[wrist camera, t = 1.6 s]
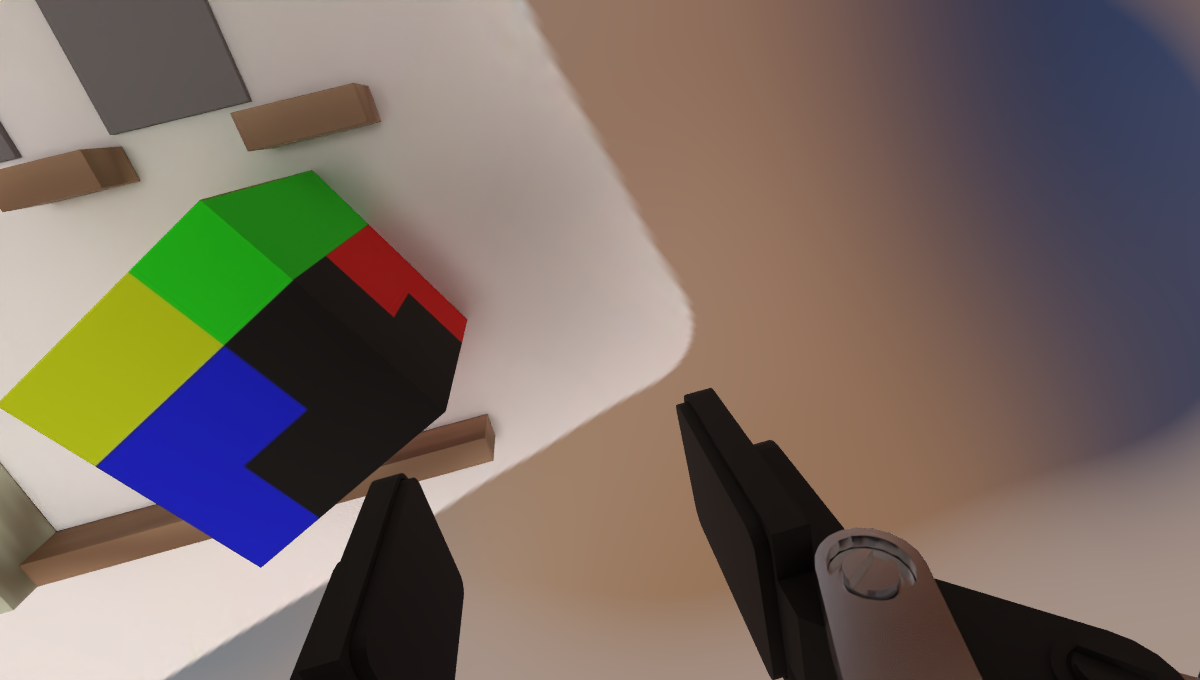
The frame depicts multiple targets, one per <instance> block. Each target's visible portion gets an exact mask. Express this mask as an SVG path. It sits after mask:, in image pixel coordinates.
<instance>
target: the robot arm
mask: <svg viewBox="0 0 1200 680" xmlns="http://www.w3.org/2000/svg"><path fill="white" fill-rule="evenodd" d="M684 402H685V403H682V404H678V405H676V409H677V415H678V420H679V425H680V430H681V435H682V440H683V445H684V450H685V455H686V460H687V465H688V470H689V475H690V480H691V485H692V491H693V495H694V501H695V506H696V510H697V514H698V517H699V520H700V523H701V526H702V528H703V530H704V533H705V535H706V537H707V539H708V541H709V544H710V546H711V548H712V550H713V553H714V555H715V557H716V559H717V561H718V563H719V566H720V568H721V570H722V572H723V575H724V576H725V579H726V581H727V583H728V586H729V588H730V590H731V592H732V594H733V597H734V599H735V601H736V603H737V605H738V608H739V610H740V612H741V614H742V616H743V618H744V621H745V623H746V625H747V627H748V630H749V632H750V634H751V636H752V638H753V641H754V643H755V645H756V647H757V650H758V652H759V654H760V656H761V658H762V661H763V663H764V665H765V667H766V669H767V671H768V674H769V676H770V677H771V679H772V680H775V679H779V678H782V677H783V679H784V680H1200V672H1199V675H1198V678H1197V677H1193V676H1189V675H1185V674H1181V673H1179V672H1178V671H1176V670H1175V669H1174V668H1173V667H1171V665H1169V664H1168V663H1167V662H1166V661H1164V660H1163V659H1162V658H1161V657H1160V656H1159V655H1157V654H1155V653H1153V652H1152V651H1150V650H1149V649H1147V648H1145V647H1144V646H1142V645H1140V644H1138V643H1137V642H1135V641H1133V640H1131V639H1128V638H1125V637H1123V636H1120V635H1118V634H1115V633H1113V632H1110V631H1107V630H1104V629H1101V628H1097V627H1094V626H1091V625H1087V624H1084V623H1081V622H1077V621H1074V620H1070V619H1067V618H1064V617H1061V616H1057V615H1054V614H1051V613H1047V612H1044V611H1041V610H1037V609H1034V608H1031V607H1027V606H1024V605H1021V604H1017V603H1014V602H1011V601H1008V600H1004V599H1001V598H998V597H994V596H991V595H988V594H984V593H981V592H978V591H974V590H971V589H968V588H964V587H961V586H958V585H954V584H951V583H948V582H944V581H941V580H938V579H934V577H933V575H932V573H931V571H930V569H929V567H928V565H927V563H926V561H925V560H924V559H923V557H922V556H921V554H920V553H919V551H918V550H916V549H915V548H914V547H913V546H912V545H910V544H909V543H908V542H907V541H905V540H903V539H901V538H899V537H897V536H895V535H893V534H891V533H889V532H885V531H881V530H877V529H873V528H851V529H844V528H843V527H842V525H841V524H840V523H839V522H838V521H837V519H836V518H835V517H834V515H833V514H832V513H831V512H830V510H829V509H828V508H827V507H826V505H825V504H824V503H823V501H822V500H821V499H820V498H819V496H818V495H817V494H816V493H815V492H814V490H813V489H812V488H811V487H810V485H809V484H808V483H807V481H806V480H805V479H804V478H803V476H802V475H801V474H800V473H799V471H798V470H797V469H796V467H795V466H794V465H793V464H792V462H791V461H790V460H789V459H788V457H787V456H786V455H785V454H784V452H783V451H782V450H781V449H780V448H779V446H778V445H777V444H776V443H775V442H774V441H772V440H768V441H765V442H761V443H757V444H754V445H753V444H752V442H751V441H750V440H749V438H748V437H747V436H746V434H745V433H744V432H743V430H742V429H741V427H740V426H739V424H738V423H737V422H736V420H735V419H734V418H733V416H732V415H731V413H730V412H729V411H728V409H727V408H726V407H725V405H724V404H723V402H722V401H721V400H720V398H719V397H718V396H717V394H716V393H715V391H714V390H713V389H712V388H708V389H705V390H701V391H697V392H694V393H690V394H687V395H685V396H684ZM463 598H464V588H463V582H462V578H461V575H460V573H459V571H458V568H457V566H456V564H455V562H454V559H453V557H452V555H451V553H450V551H449V548H448V546H447V544H446V542H445V540H444V537H443V535H442V533H441V530H440V528H439V526H438V524H437V521H436V520H435V517H434V515H433V513H432V510H431V508H430V506H429V504H428V501H427V499H426V497H425V495H424V492H423V490H422V488H421V486H420V483H419V482H418V480H417V479H416V478H414V477H413V478H409V479H408V477H407V476H406V475H405V474H404V473H400V474H396V475H392V476H389V477H385V478H381V479H378V480H374V481H372V483H371V485H370V487H369V489H368V492H367V495H366V497H365V500H364V502H363V505H362V507H361V510H360V512H359V515H358V518H357V520H356V523H355V525H354V528H353V530H352V533H351V535H350V538H349V541H348V543H347V546H346V548H345V551H344V553H343V556H342V558H341V561H340V562H339V563H338V564H337V565H336V567H335V569H334V570H333V573H332V575H331V578H330V580H329V583H328V585H327V588H326V590H325V593H324V595H323V598H322V600H321V603H320V605H319V608H318V610H317V613H316V615H315V618H314V620H313V623H312V626H311V628H310V630H309V633H308V635H307V638H306V641H305V643H304V645H303V648H302V650H301V653H300V655H299V658H298V660H297V663H296V666H295V668H294V670H293V673H292V675H291V678H290V680H455V673H456V664H457V654H458V644H459V636H460V626H461V617H462V608H463Z"/></svg>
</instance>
